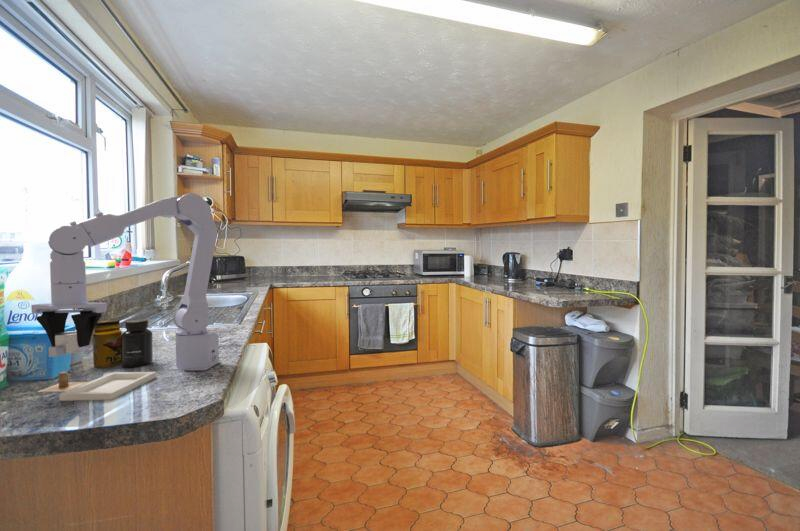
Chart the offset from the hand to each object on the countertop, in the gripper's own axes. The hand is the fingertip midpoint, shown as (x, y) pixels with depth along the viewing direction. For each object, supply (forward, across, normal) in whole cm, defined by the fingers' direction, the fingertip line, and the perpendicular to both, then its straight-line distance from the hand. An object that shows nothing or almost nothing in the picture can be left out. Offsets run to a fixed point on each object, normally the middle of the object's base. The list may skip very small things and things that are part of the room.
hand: (71, 346), depth 82 cm
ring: (+1, 0, 0) cm, 1 cm away
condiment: (+10, -7, +18) cm, 21 cm away
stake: (+9, -2, 0) cm, 10 cm away
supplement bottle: (+10, +2, +17) cm, 20 cm away
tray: (+9, +10, -1) cm, 13 cm away
